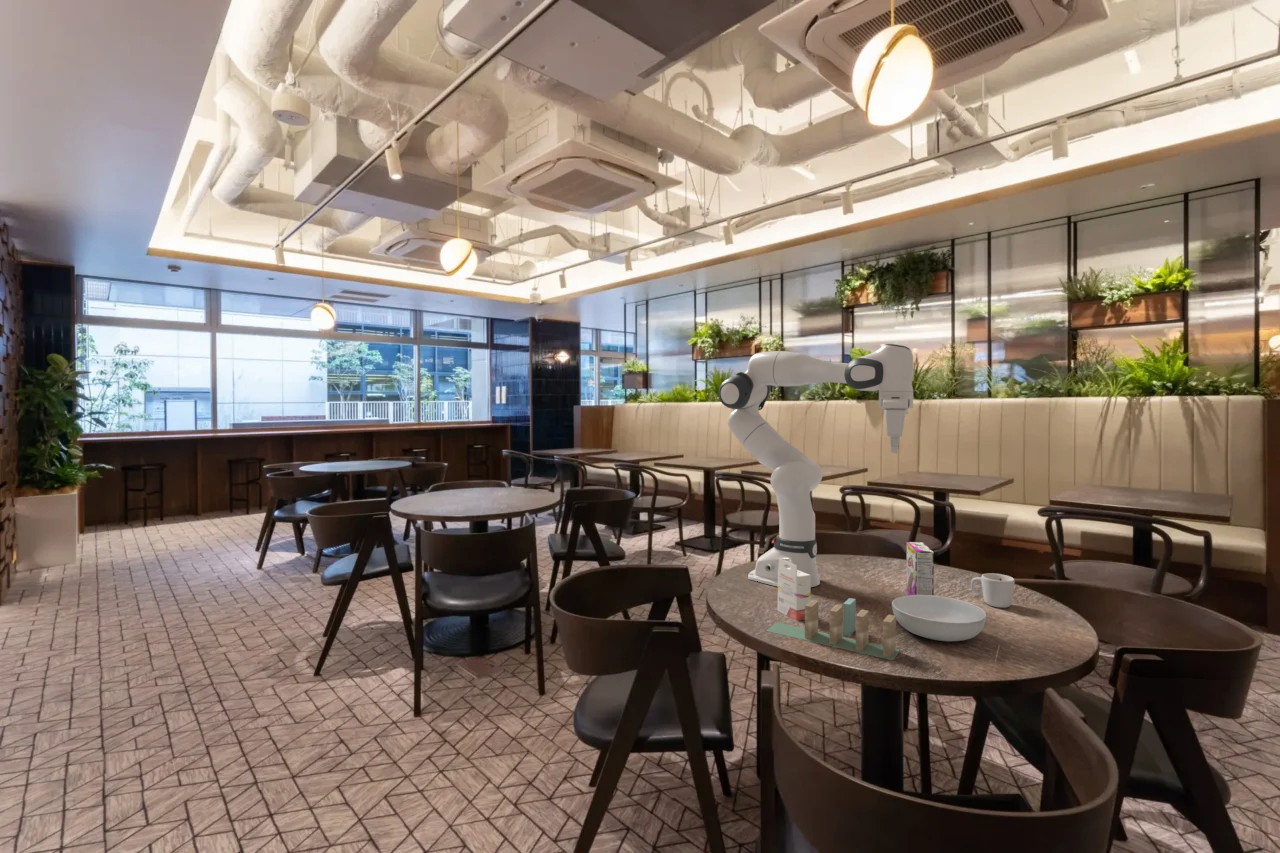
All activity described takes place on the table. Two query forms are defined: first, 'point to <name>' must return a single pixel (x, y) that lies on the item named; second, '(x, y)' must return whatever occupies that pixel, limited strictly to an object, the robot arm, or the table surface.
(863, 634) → the domino
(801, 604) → the ink cartridge box
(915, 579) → the candy bar box
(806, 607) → the domino
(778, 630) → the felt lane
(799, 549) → the robot arm
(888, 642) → the domino
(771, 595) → the table surface
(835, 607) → the domino
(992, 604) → the cup
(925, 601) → the serving bowl
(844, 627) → the domino
